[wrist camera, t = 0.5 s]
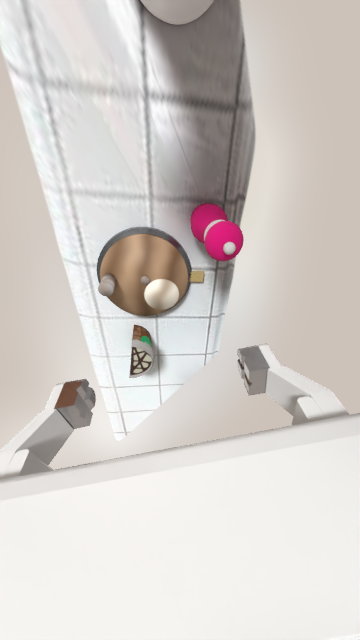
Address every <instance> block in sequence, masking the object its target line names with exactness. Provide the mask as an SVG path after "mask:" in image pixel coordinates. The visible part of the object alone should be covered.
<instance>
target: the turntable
mask: <svg viewBox="0 0 360 640" xmlns="http://www.w3.org/2000/svg"><path fill="white" fill-rule="evenodd" d="M100 280H101V283H100V285H99V287H98V290H99V292H100V294H102V295H104V296H108V298H109V299H110V300H111V301H112V302H113V303H114V304H115V305H116V306H118V307H119V308H121V309H122V310H124V311H126V312H129V313H132V314H136V315H143V316H149V315H156V314H160V313H163V312H165V311H167V310H169V309H171V308H172V307H173V306H175V305H176V304H177V303H178V302H179V301H180V299H181V298H182V296H183V295H184V293H185V291H186V288H187V283H188V271H187V267H186V263H185V261H184V258H183V257H182V255H181V253H180V252H179V251H178V249H177V248H176V247H175V246H174V245H173V244H171V243H170V242H169V241H167V240H165V239H164V238H162V237H159V236H156V235H152V234H145V233H140V234H132V235H129V236H126V237H124V238H121V239H120V240H118V241H117V242H115V243H114V244H113V245H112V246H111V247H110V248H109V250H108V251H107V253H106V254H105V256H104V258H103V261H102V263H101V268H100Z"/></svg>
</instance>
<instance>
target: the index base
mask: <svg viewBox="0 0 360 640" xmlns="http://www.w3.org/2000/svg"><path fill="white" fill-rule="evenodd" d="M140 233H145V234H152V235H156V236H159V237H162V238H164V239H165V240H167V241H169V242H170V243H171V244H173V245H174V246H175V247H176V248H177V249H178V251H179V252H180V253H181V255H182V257H183V258H184V261H185V263H186V267H187V271H188V283H187V288H186V291H185V293H184V295H185V294H186V292H187V290H188V288H189V285H190V282H203V278H204V271H191V266H190V262H189V259H188V256H187V254H186V252H185V250H184V249H183V247H182V246H181V245H180V243H179V242H178V241H177V240H176V239H174V238H173V237H172V236H170V235H169V234H167V233H165V232H163V231H161V230H158V229H155V228H150V227H135V228H130V229H126V230H124V231H122V232H119V233H118V234H116V235H115V236H113V237H112V238H111V239H110V240H109V241H108V242H107V243H106V245H105V246H104V248H103V249H102V251H101V253H100V256H99V258H98V263H97V276H98V280H99V283H101V280H100V268H101V263H102V261H103V258H104V256H105V254H106V253H107V251H108V250H109V248H110V247H111V246H112V245H113V244H114V243H115V242H117V241H118V240H120V239H121V238H124V237H126V236H129V235H132V234H140ZM184 295H183V296H182V298H183V297H184ZM107 297H108V296H107ZM182 298H181V299H182ZM181 299H180V301H181ZM180 301H179V302H180ZM179 302H178V303H179ZM173 307H174V306H173Z"/></svg>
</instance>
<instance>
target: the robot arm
mask: <svg viewBox="0 0 360 640" xmlns="http://www.w3.org/2000/svg"><path fill="white" fill-rule="evenodd" d="M140 1H141V2H142V3H143V5H144V6H145V7H146V8H147V9H148V10H149V11H150V12H151V13H152V14H153V15H154V16H156V17H157V18H158V19H160V20H162V21H164V22H167V23H170V24H177V25H178V24H186V23H189V22H192V21H194V20H195V19H197V18H199V17H200V16H201V15H202V14H203V13H204V12H205V11H206V10H207V9H208V8H209V7H210V5H211V4H212V3H213V1H214V0H140ZM237 355H238V357H239V359H238V368H239V372H240V375H241V378H243V379H244V384H245V387H246V389H247V392H248V394H249V395H255V394H260V393H266V394H267V395H268V396H269V397H270V398H272V399H273V400H274V401H275V402H277V403H278V404H279V405H280V406H281V407H283V408H284V409H285V410H286V411H288V412H289V413H290V414H291V415H293V416H294V417H293V421H292V426H287V427H282V428H276V429H271V430H266V431H260V432H255V433H250V434H244V435H239V436H234V437H228V438H223V439H217V440H212V441H207V442H202V443H196V444H190V445H185V446H180V447H174V448H169V449H164V450H158V451H153V452H148V453H142V454H137V455H131V456H126V457H121V458H116V459H110V460H105V461H99V462H94V463H88V464H84V465H78V466H72V467H67V468H61V469H56V470H53V469H52V468H50V467H49V466H48V465H49V464H50V462H51V461H52V459H53V458H54V456H55V455H56V454H57V452H58V451H59V450H60V448H61V447H62V446H63V444H64V443H65V441H66V440H67V439H68V437H69V436H70V435H71V433H72V432H73V431H74V429H76V428H81V427H85V426H89V425H90V422H91V418H92V414H93V413H92V412H91V409H92V408H93V407H94V406H95V393H94V390H93V389H92V388H90V387H88V385H89V382H88V381H87V380H86V379H82V380H76V381H70V382H65V383H60V384H56V385H55V386H54V388H53V391H52V393H51V395H50V397H49V399H48V402H47V404H46V406H45V408H44V411H43V412H40V413H39V414H38V415H37V416H36V417H35V418H34V419H33V420H32V421H31V422H29V423H28V424H27V425H26V426H25V427H24V428H23V429H22V430H21V431H20V432H19V433H18V434H17V435H16V436H15V437H14V438H13V439H12V440H11V441H10V442H8V443H7V444H6V445H5V446H4V447H3V448H2V449H1V450H0V640H360V413H357V414H352V415H350V414H349V413H348V412H347V411H346V409H345V408H344V407H343V405H342V404H341V403H340V402H339V400H338V399H337V398H336V396H335V395H334V394H333V392H332V391H330V390H329V389H327V388H325V387H323V386H321V385H319V384H317V383H316V382H314V381H312V380H310V379H308V378H306V377H304V376H303V375H301V374H299V373H297V372H295V371H294V370H292V369H290V368H288V367H286V366H281V365H280V363H279V361H278V360H277V358H276V356H275V355H274V354H273V352H272V350H271V349H270V347H269V346H268V344H261V345H257V346H252V347H247V348H242V349H238V351H237Z"/></svg>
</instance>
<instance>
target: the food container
mask: <svg viewBox="0 0 360 640" xmlns="http://www.w3.org/2000/svg"><path fill="white" fill-rule="evenodd" d="M131 347H132V354H131V356H132V357H131V367H130V377H129V378H135V377H139V376H142V375H144V374H146V373H147V372H148V371H149V370H150V369H151V367H152V365H153V362H154V359H155V355H154V352H153V350H152V348H151V338H150V334H149V332H148V331H147V330H146V329H145V328H143V327H141V326H138V325H134V329H133V338H132V346H131Z"/></svg>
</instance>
